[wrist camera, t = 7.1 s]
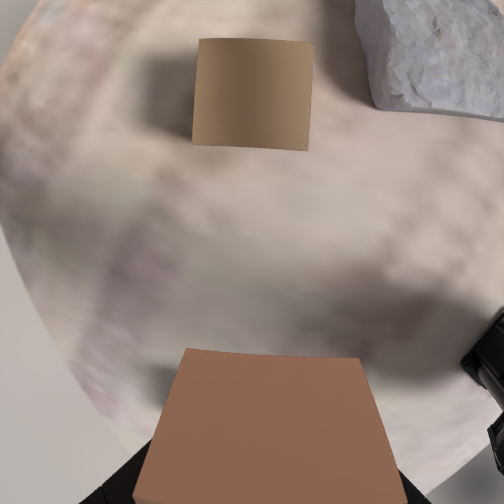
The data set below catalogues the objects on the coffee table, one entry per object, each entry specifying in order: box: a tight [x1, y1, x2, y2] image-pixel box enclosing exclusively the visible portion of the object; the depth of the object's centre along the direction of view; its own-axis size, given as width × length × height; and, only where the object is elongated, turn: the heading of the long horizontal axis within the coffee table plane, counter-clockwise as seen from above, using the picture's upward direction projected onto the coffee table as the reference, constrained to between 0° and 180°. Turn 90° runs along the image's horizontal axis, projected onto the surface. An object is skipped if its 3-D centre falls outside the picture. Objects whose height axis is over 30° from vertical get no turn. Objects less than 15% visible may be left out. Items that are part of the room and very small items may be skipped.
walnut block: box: [192, 38, 314, 151], centre depth 15 cm, size 5×5×5 cm
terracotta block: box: [132, 348, 408, 504], centre depth 7 cm, size 5×5×5 cm
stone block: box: [354, 0, 504, 122], centre depth 14 cm, size 12×5×10 cm
